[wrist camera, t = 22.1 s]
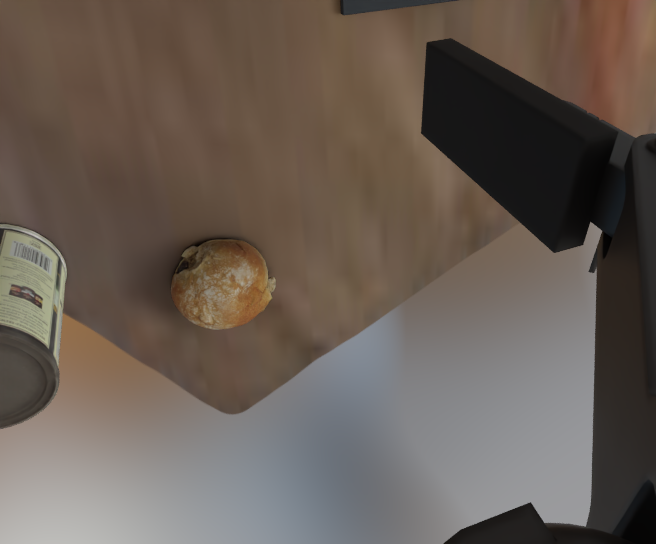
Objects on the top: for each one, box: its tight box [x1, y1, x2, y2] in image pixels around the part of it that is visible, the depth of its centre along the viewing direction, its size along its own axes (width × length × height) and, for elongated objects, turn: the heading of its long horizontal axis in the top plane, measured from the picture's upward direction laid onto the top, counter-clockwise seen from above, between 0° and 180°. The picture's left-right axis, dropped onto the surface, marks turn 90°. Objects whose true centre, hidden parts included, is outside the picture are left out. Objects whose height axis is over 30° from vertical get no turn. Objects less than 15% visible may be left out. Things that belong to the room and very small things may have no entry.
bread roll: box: [171, 239, 276, 330], centre depth 55 cm, size 10×10×8 cm
